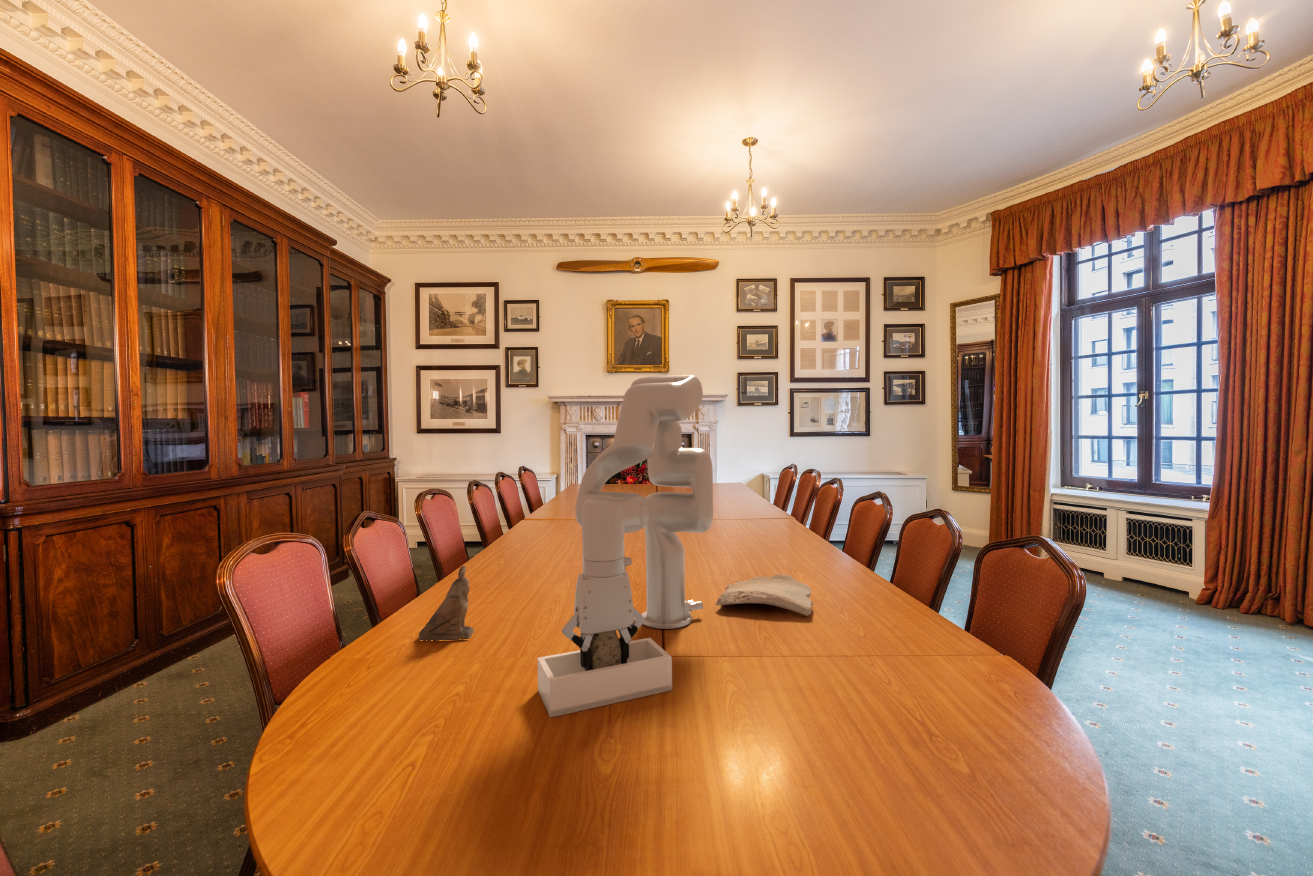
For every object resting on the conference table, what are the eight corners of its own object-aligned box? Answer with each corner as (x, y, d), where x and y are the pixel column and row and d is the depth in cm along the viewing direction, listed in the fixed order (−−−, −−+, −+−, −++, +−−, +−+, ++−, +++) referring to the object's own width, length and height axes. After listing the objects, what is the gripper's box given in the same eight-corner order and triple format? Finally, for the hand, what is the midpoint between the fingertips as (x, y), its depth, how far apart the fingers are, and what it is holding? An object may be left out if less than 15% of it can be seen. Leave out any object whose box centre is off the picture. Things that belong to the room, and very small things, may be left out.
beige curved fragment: (727, 594, 156) (713, 609, 137) (728, 568, 157) (715, 579, 138) (813, 604, 149) (812, 621, 130) (814, 576, 150) (813, 590, 131)
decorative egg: (622, 669, 99) (621, 615, 99) (621, 684, 93) (620, 627, 93) (590, 670, 99) (589, 616, 99) (587, 685, 93) (586, 628, 93)
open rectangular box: (650, 668, 105) (649, 637, 105) (672, 690, 96) (671, 656, 96) (538, 691, 96) (537, 657, 96) (550, 717, 87) (549, 681, 87)
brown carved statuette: (474, 644, 125) (489, 568, 125) (464, 653, 120) (480, 574, 120) (425, 632, 126) (440, 557, 126) (413, 641, 120) (429, 563, 120)
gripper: (640, 557, 103) (641, 650, 103) (551, 567, 96) (552, 667, 96) (655, 566, 96) (657, 665, 96) (561, 577, 89) (562, 685, 89)
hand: (605, 665), depth 96 cm, fingers closed on decorative egg, 6 cm apart
